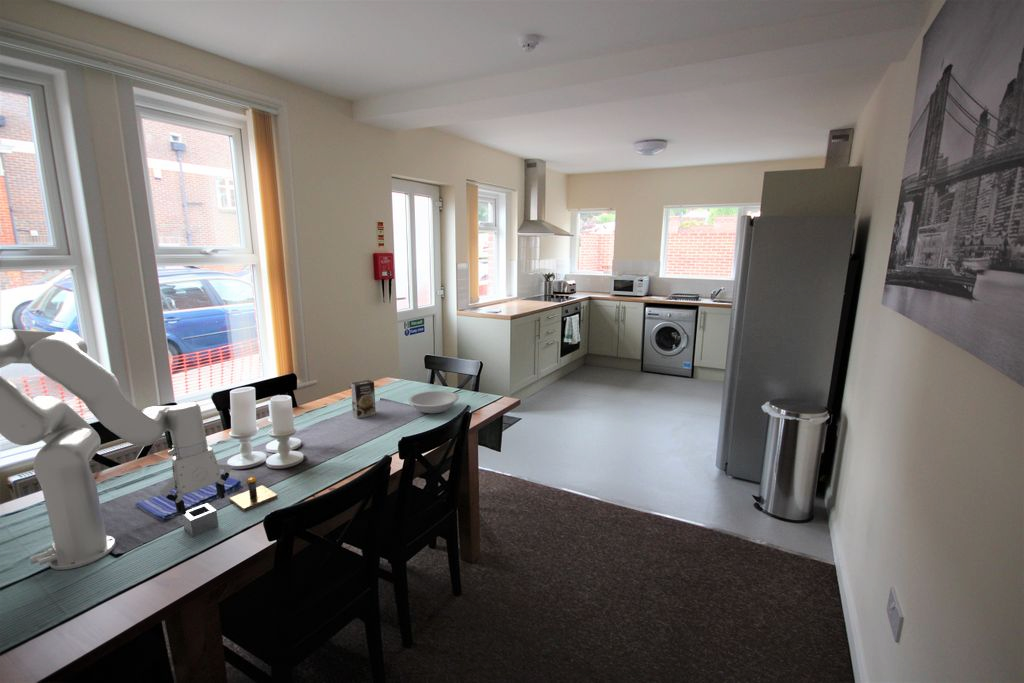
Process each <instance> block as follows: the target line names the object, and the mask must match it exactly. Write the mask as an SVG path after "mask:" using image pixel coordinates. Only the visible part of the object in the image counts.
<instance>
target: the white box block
mask: <svg viewBox="0 0 1024 683" xmlns="http://www.w3.org/2000/svg"><path fill="white" fill-rule="evenodd" d="M181 517H182V523H183V525H182V526H183V529H184V531H186V532H187V533H188V534H189V535H190V536H191V537H192V538H194V537H197V536H199V535H202V534H204V533H206V532H209V531H211V530H214V529H216V528H219V519H218V513H217V509H216V508H214V507H213V506H212V505H210V504H209V502H207V503H204V504H202V505H200V506H197V507H195V508H193V509H190V510H187V511H186V514H185V515H183V514H181Z"/></svg>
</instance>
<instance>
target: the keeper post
mask: <svg viewBox="0 0 1024 683" xmlns="http://www.w3.org/2000/svg"><path fill="white" fill-rule="evenodd" d="M246 483H247V486H248V490H247V491H243V492H242V493H238V494H236V495H234V496H230V497H229V502H230V503H232V504H233V505H235V506H236V507H237V508H239V509H240V510H241V511H243V512H247V511H249V510H252V509H254V508H256V507H258V506H260V505H264V504H265V503H267V502H268V503H269V502H271V501H273V500H275V499H278V494H277V493H276V492H274V491H272V490H270V489H269V488H267V487H266V486H264V485H262V484H261V485H259V486H257V484H256V483H257V477H256V476H249V477H248V478H246Z"/></svg>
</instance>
